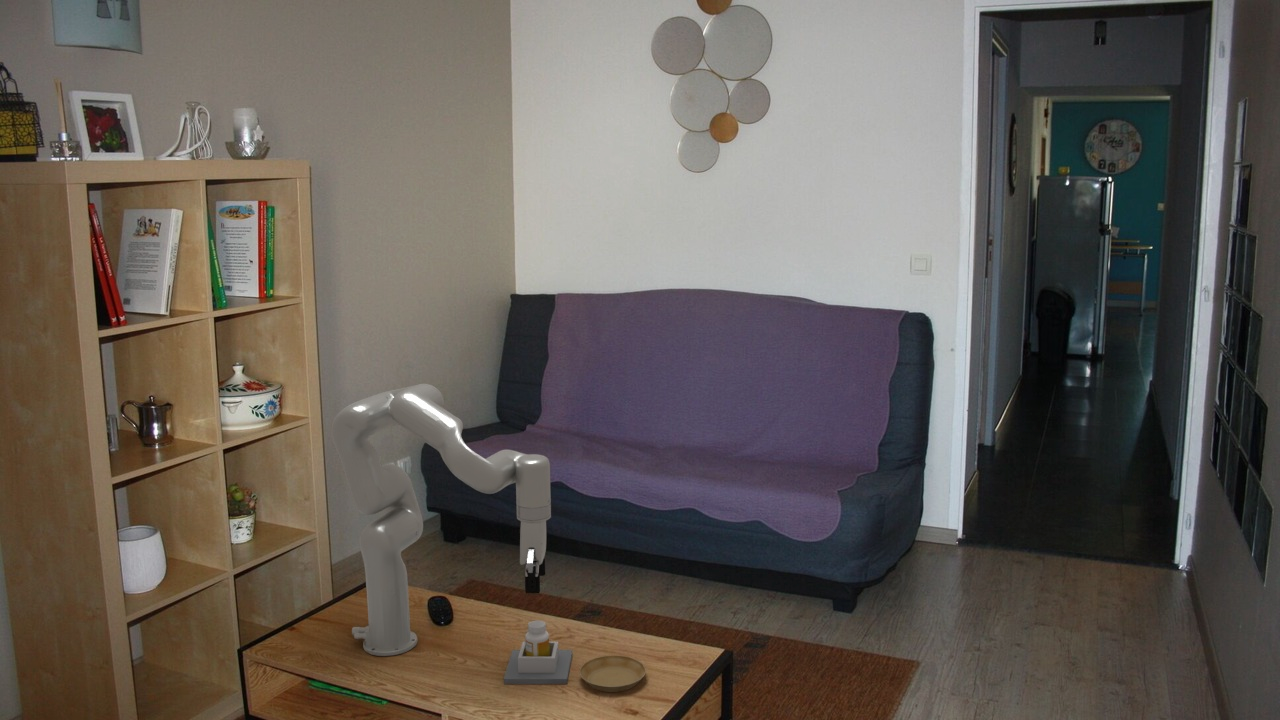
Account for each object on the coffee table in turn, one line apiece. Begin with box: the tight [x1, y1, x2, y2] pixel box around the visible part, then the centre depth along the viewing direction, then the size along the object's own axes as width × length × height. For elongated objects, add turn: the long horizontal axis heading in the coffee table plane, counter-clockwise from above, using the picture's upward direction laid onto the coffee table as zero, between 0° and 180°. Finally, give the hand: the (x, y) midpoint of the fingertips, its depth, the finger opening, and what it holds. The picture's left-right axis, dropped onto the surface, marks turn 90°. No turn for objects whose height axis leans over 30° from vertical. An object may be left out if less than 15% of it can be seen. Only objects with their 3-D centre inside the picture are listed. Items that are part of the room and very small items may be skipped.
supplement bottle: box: [524, 619, 550, 656], centre depth 232 cm, size 5×5×10 cm
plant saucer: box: [578, 654, 647, 693], centre depth 228 cm, size 15×15×3 cm
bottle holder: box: [503, 640, 573, 685], centre depth 233 cm, size 14×14×5 cm
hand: (535, 583), depth 230 cm, fingers open, 9 cm apart
